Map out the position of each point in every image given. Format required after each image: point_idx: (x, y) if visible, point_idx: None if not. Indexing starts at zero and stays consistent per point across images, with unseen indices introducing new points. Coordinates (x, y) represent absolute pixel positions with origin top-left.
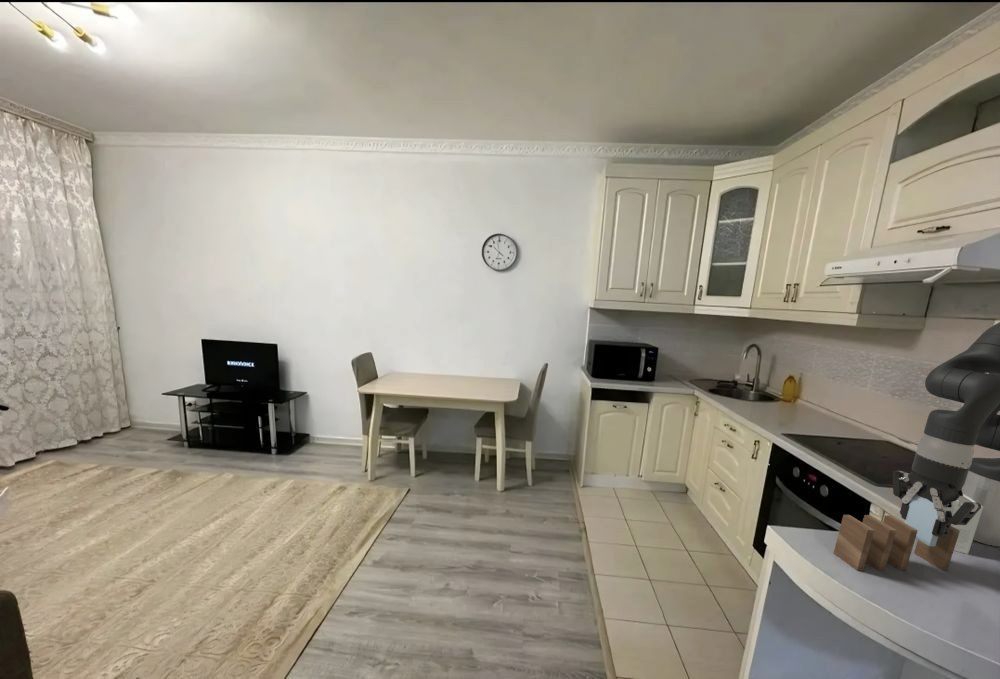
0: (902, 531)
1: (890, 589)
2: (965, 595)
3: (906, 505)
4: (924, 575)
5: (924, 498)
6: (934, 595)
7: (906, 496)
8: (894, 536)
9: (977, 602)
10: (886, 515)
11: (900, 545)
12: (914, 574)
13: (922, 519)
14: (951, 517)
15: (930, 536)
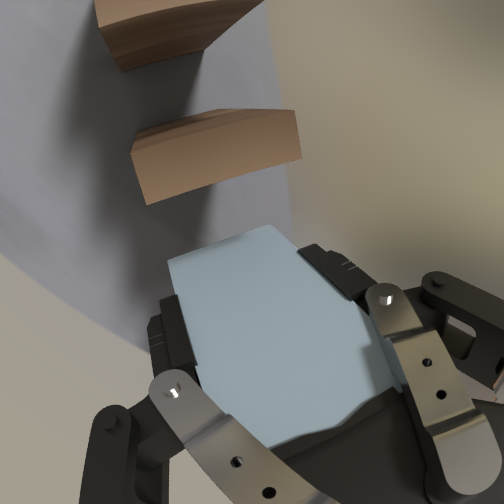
0: (171, 134)
1: (32, 29)
2: (78, 265)
3: (355, 288)
4: (135, 206)
5: (349, 412)
6: (37, 160)
7: (408, 319)
8: (105, 39)
9: (60, 275)
10: (295, 122)
11: (157, 132)
12: (128, 172)
13: (248, 306)
14: (164, 441)
15: (178, 283)
